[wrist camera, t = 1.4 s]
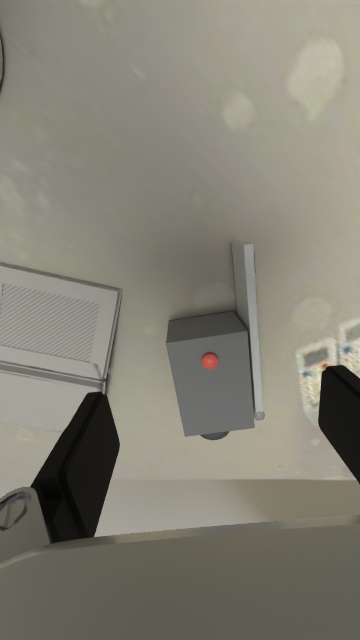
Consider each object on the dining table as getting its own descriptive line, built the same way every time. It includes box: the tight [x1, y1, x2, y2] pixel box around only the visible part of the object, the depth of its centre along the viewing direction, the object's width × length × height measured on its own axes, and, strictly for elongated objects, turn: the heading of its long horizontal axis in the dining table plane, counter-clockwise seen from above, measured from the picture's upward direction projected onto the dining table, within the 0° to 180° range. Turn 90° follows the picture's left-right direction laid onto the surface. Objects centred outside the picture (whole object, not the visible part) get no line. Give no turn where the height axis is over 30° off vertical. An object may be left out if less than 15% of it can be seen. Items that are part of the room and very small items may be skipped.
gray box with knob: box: [166, 311, 255, 440], centre depth 29 cm, size 14×8×7 cm, turn 9°
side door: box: [231, 242, 265, 420], centre depth 27 cm, size 20×2×6 cm, turn 9°
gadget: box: [0, 263, 122, 433], centre depth 31 cm, size 23×15×4 cm, turn 167°
